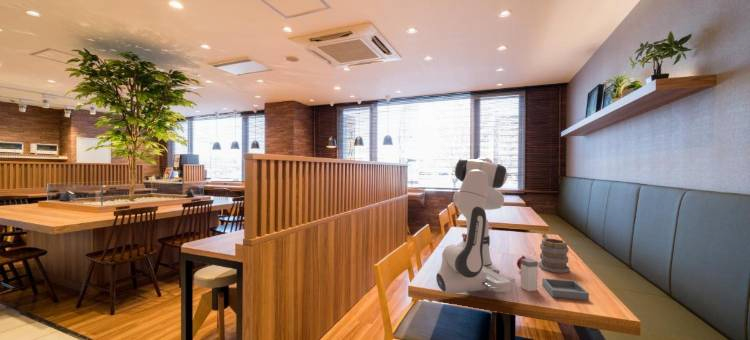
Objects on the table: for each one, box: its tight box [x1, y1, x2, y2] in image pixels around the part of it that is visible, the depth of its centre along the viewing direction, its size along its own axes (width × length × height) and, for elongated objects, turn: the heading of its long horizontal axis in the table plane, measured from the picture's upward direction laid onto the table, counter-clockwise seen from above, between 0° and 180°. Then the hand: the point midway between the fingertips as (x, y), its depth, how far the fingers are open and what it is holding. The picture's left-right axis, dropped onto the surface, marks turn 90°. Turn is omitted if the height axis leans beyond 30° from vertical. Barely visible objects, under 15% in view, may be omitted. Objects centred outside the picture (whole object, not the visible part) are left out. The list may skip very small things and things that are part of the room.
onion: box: [516, 254, 528, 271], centre depth 148 cm, size 6×6×8 cm
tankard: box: [538, 233, 571, 274], centre depth 156 cm, size 20×13×15 cm, turn 168°
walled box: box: [541, 277, 590, 302], centre depth 124 cm, size 13×13×3 cm
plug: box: [520, 257, 539, 292], centre depth 128 cm, size 4×4×12 cm
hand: (505, 275), depth 125 cm, fingers open, 8 cm apart
